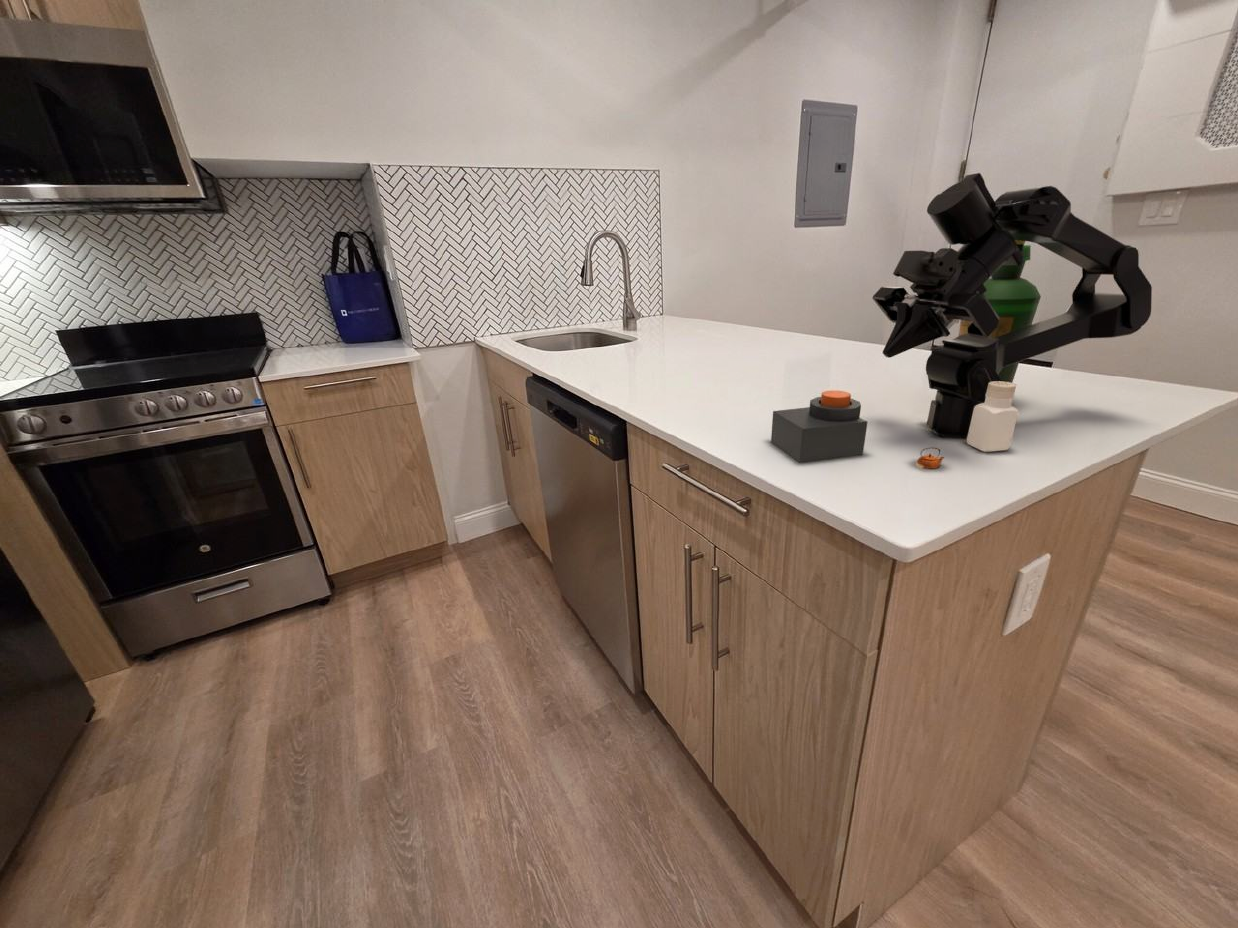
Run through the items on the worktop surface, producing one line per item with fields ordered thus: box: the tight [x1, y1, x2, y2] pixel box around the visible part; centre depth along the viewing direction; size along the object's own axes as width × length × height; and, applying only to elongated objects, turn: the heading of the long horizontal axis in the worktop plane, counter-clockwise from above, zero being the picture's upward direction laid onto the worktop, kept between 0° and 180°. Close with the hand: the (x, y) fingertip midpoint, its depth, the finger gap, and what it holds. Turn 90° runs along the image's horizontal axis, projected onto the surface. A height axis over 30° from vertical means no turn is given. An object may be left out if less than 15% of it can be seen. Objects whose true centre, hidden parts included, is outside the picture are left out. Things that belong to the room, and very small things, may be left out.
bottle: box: [957, 240, 1042, 383], centre depth 88 cm, size 11×11×28 cm
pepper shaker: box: [966, 381, 1019, 453], centre depth 72 cm, size 4×4×10 cm
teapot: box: [915, 447, 945, 470], centre depth 68 cm, size 3×3×3 cm
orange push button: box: [820, 389, 852, 407], centre depth 74 cm, size 4×4×2 cm
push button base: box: [770, 396, 868, 464], centre depth 75 cm, size 11×9×7 cm
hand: (885, 355), depth 73 cm, fingers closed
